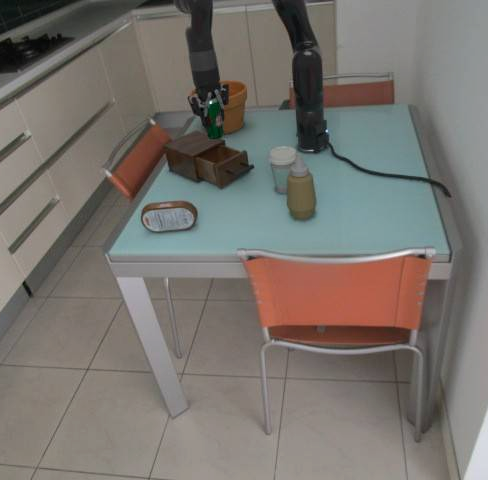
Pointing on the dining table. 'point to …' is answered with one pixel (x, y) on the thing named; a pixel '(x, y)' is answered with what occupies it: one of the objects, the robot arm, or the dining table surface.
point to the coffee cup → (281, 165)
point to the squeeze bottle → (300, 190)
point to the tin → (169, 216)
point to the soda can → (214, 119)
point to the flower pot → (233, 106)
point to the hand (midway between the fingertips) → (214, 124)
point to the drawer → (223, 165)
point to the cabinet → (189, 153)
